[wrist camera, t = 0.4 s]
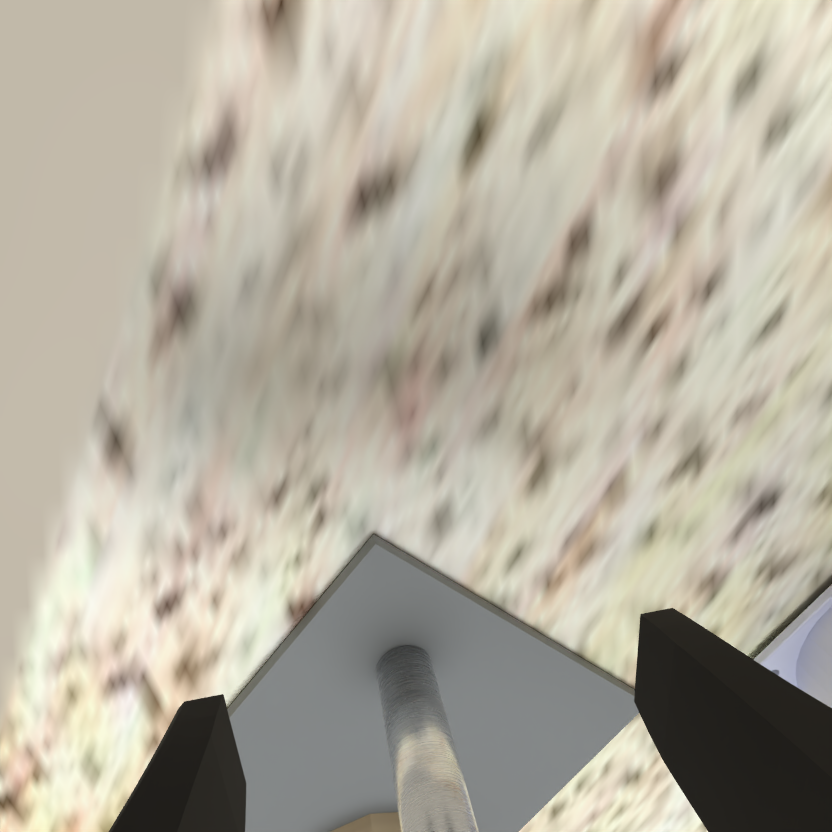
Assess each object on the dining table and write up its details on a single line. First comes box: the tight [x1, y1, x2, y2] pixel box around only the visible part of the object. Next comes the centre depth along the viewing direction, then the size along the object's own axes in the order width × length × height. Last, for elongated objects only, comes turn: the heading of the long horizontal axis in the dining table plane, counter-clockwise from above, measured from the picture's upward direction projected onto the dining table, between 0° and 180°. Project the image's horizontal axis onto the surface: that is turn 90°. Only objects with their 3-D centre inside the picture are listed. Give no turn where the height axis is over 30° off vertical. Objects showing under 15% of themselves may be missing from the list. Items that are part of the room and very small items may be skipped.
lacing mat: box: [227, 534, 639, 832], centre depth 24 cm, size 14×17×1 cm
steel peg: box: [376, 645, 479, 832], centre depth 18 cm, size 2×2×8 cm
